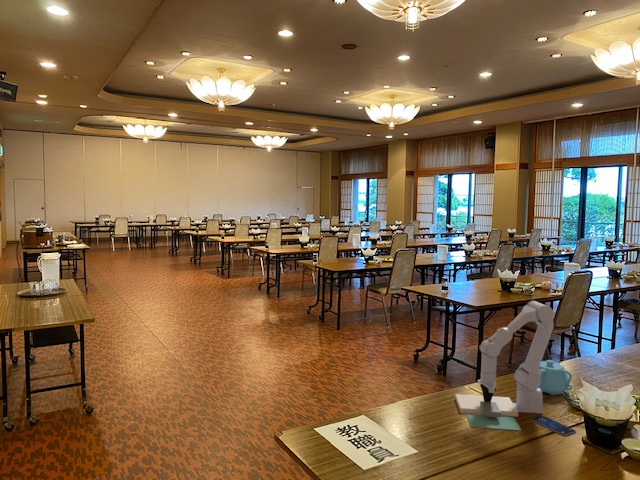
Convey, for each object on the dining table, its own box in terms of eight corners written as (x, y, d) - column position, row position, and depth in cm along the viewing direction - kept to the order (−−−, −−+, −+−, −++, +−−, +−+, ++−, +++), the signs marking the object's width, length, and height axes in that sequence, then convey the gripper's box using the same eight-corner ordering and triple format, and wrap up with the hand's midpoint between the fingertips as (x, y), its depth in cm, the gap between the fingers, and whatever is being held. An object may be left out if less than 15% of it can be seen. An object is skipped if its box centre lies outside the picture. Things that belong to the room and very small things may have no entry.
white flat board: (508, 401, 204) (509, 397, 204) (518, 416, 190) (518, 411, 190) (455, 398, 207) (455, 394, 206) (460, 413, 193) (460, 408, 193)
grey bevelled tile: (495, 406, 194) (495, 402, 194) (500, 417, 185) (501, 412, 185) (479, 406, 195) (480, 401, 194) (484, 416, 186) (484, 411, 186)
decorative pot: (533, 395, 211) (534, 365, 209) (525, 382, 226) (526, 353, 225) (573, 399, 207) (575, 368, 206) (562, 385, 223) (564, 356, 222)
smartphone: (564, 435, 174) (529, 418, 187) (564, 438, 174) (529, 420, 188) (577, 430, 178) (542, 414, 191) (577, 433, 178) (542, 416, 191)
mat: (513, 417, 189) (513, 416, 189) (521, 430, 178) (521, 430, 178) (466, 414, 191) (466, 413, 191) (471, 427, 181) (471, 426, 181)
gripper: (475, 363, 202) (473, 395, 203) (481, 376, 187) (480, 410, 188) (492, 364, 201) (491, 396, 202) (500, 377, 186) (499, 411, 188)
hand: (487, 403), depth 195 cm, fingers closed
